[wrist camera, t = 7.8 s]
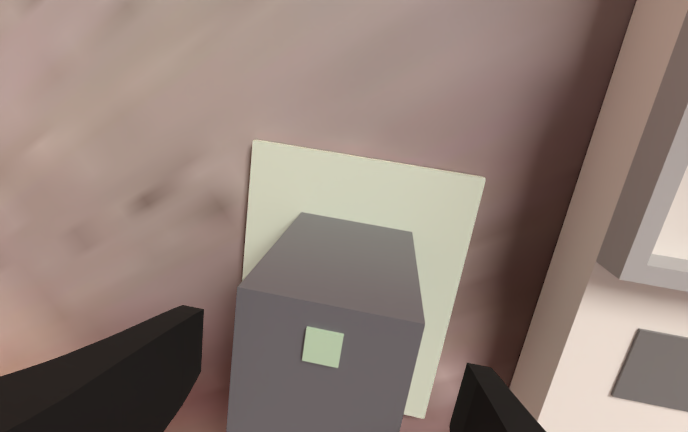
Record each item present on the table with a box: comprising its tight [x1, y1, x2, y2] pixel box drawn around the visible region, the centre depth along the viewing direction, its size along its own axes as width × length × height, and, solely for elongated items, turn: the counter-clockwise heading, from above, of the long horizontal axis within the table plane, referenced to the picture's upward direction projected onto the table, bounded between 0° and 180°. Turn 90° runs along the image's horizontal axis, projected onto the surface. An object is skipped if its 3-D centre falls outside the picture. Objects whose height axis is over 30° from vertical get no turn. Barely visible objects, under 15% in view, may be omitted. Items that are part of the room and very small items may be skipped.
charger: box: [226, 212, 425, 432], centre depth 12 cm, size 5×4×6 cm
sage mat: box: [242, 140, 486, 419], centre depth 15 cm, size 10×8×1 cm
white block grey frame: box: [509, 0, 688, 432], centre depth 12 cm, size 22×6×4 cm, turn 172°
